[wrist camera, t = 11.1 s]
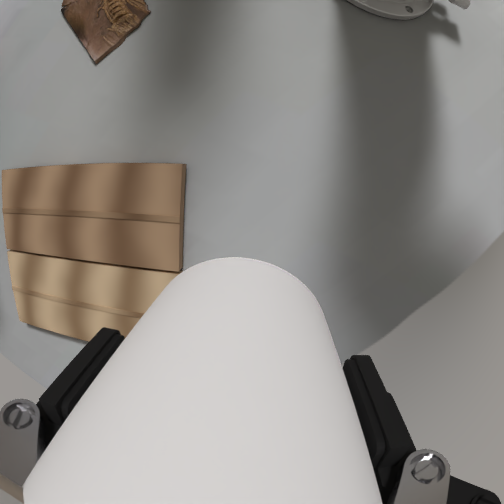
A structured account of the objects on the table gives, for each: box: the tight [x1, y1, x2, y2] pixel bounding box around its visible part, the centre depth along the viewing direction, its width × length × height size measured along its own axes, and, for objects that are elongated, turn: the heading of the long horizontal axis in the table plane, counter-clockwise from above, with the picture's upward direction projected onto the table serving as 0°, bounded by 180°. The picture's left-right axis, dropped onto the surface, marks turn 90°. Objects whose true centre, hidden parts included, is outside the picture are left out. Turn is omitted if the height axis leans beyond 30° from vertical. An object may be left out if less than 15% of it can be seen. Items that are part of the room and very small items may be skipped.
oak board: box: [7, 250, 183, 341], centre depth 27 cm, size 22×9×1 cm, turn 85°
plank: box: [2, 163, 186, 272], centre depth 25 cm, size 22×9×1 cm, turn 85°
